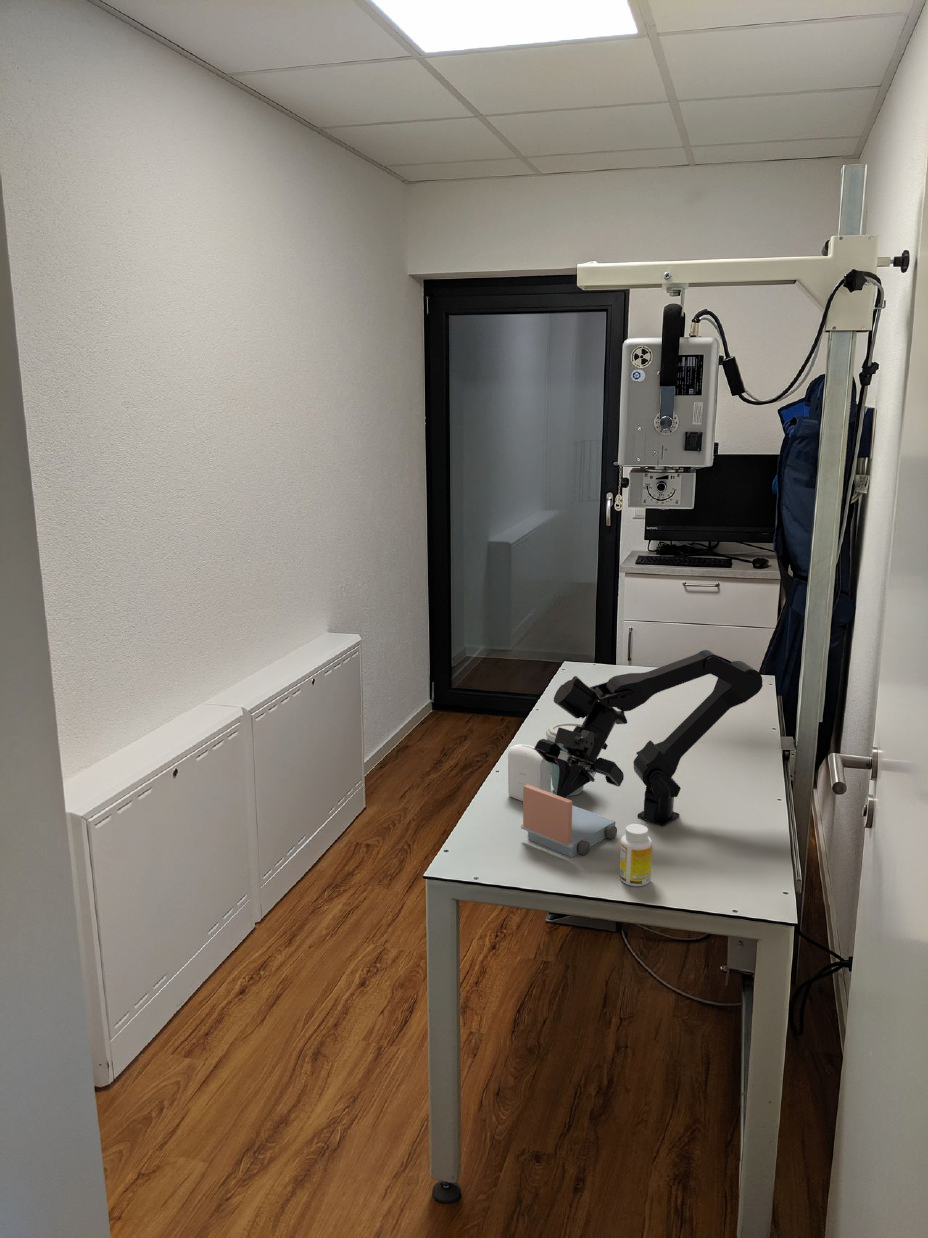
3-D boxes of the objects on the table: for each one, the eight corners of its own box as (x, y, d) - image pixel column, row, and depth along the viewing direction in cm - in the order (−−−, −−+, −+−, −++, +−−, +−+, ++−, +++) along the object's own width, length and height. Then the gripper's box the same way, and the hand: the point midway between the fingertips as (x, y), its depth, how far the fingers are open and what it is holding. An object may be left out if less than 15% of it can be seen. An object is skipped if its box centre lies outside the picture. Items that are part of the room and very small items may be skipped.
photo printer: (504, 796, 209) (505, 743, 206) (518, 790, 212) (518, 738, 209) (540, 810, 202) (541, 756, 199) (553, 804, 205) (554, 750, 202)
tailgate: (524, 827, 189) (524, 783, 187) (574, 848, 181) (575, 802, 178) (520, 829, 188) (520, 785, 186) (570, 850, 180) (571, 804, 178)
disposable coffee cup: (534, 791, 211) (535, 727, 208) (562, 776, 219) (564, 714, 216) (574, 804, 205) (576, 738, 201) (602, 788, 212) (604, 725, 209)
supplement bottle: (656, 879, 174) (658, 828, 171) (639, 891, 170) (641, 838, 167) (630, 869, 178) (632, 818, 175) (613, 880, 174) (615, 829, 171)
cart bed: (566, 814, 200) (566, 802, 199) (620, 834, 191) (620, 822, 190) (523, 836, 190) (523, 824, 190) (577, 859, 181) (578, 847, 181)
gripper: (540, 700, 192) (503, 767, 187) (617, 723, 179) (579, 795, 174) (564, 727, 199) (529, 792, 194) (639, 751, 186) (603, 821, 181)
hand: (558, 799), depth 186 cm, fingers closed
